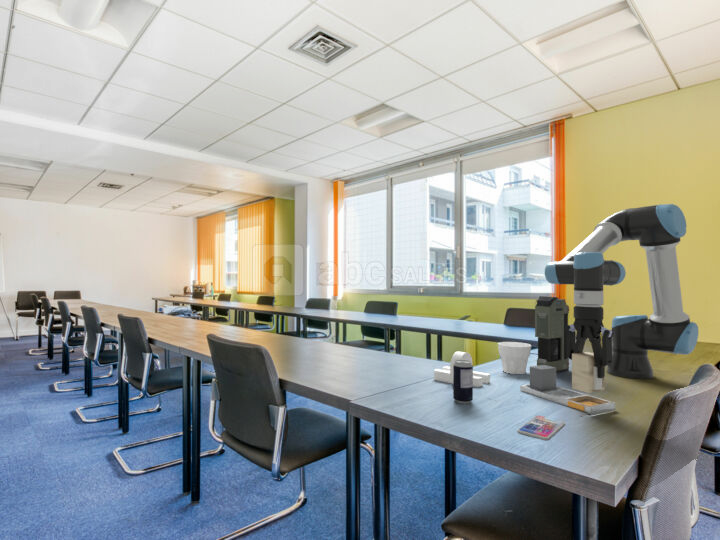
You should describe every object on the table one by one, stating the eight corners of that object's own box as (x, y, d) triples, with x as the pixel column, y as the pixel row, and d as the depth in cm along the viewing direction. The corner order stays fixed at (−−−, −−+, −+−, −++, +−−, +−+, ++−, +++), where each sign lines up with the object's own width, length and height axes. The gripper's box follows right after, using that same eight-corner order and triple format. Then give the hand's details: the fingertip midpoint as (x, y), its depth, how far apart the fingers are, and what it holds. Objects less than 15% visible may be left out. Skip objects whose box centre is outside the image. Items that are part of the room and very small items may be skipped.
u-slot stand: (446, 375, 155) (446, 347, 155) (491, 384, 143) (491, 353, 143) (432, 380, 148) (432, 350, 148) (478, 389, 136) (478, 357, 136)
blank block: (544, 389, 134) (544, 364, 134) (556, 392, 130) (556, 367, 130) (529, 391, 131) (529, 366, 131) (541, 395, 127) (541, 369, 127)
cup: (492, 368, 166) (492, 341, 166) (521, 368, 167) (521, 341, 168) (506, 376, 154) (506, 347, 154) (537, 375, 155) (537, 346, 155)
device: (550, 375, 155) (550, 297, 156) (532, 371, 162) (532, 296, 162) (570, 370, 163) (570, 296, 164) (552, 367, 170) (552, 295, 170)
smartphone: (566, 421, 104) (547, 438, 93) (566, 425, 104) (547, 442, 93) (536, 414, 109) (515, 429, 98) (536, 418, 109) (515, 433, 98)
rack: (543, 388, 137) (543, 382, 137) (614, 410, 115) (614, 402, 115) (519, 392, 132) (519, 385, 132) (589, 415, 110) (589, 407, 110)
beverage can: (473, 399, 124) (473, 360, 124) (472, 405, 118) (472, 364, 118) (454, 397, 125) (454, 359, 126) (452, 403, 120) (452, 362, 120)
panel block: (587, 385, 120) (587, 352, 120) (604, 390, 116) (604, 355, 116) (571, 388, 117) (571, 353, 117) (588, 392, 113) (588, 356, 113)
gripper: (552, 303, 123) (552, 380, 123) (610, 308, 107) (610, 396, 107) (569, 303, 127) (568, 378, 126) (628, 307, 110) (628, 393, 110)
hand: (588, 386), depth 116 cm, fingers closed on panel block, 5 cm apart
